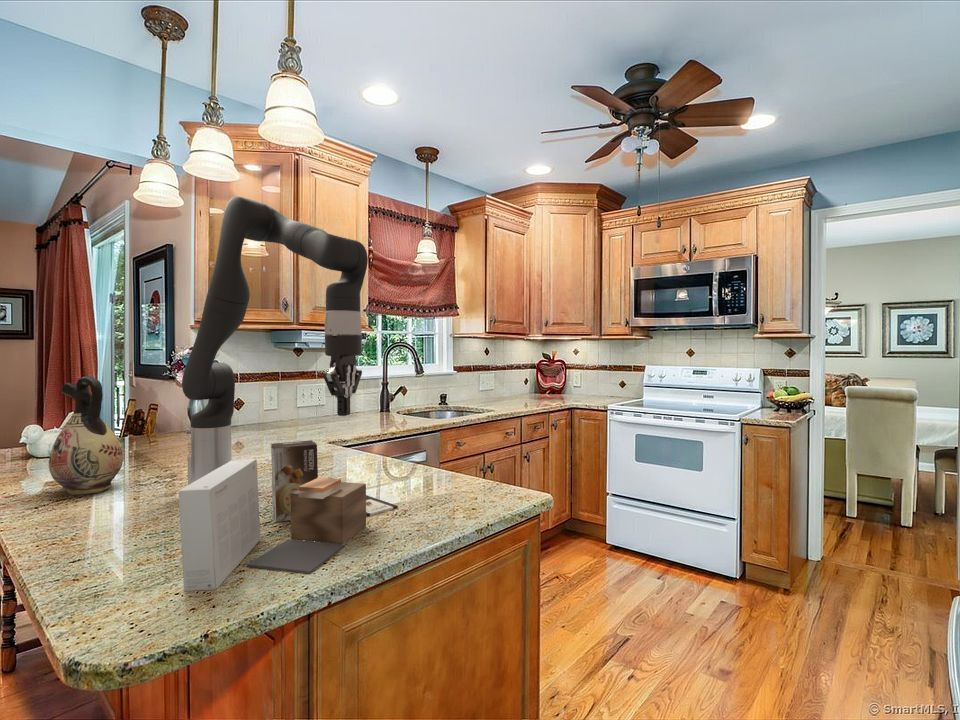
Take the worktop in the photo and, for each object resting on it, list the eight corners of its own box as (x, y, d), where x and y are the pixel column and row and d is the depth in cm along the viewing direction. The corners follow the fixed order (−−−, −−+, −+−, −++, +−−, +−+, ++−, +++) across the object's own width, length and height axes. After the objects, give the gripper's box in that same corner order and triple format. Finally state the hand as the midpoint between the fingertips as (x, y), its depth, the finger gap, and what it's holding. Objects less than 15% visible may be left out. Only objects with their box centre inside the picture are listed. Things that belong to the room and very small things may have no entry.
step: (291, 539, 101) (290, 493, 101) (318, 522, 111) (318, 480, 111) (342, 544, 99) (342, 497, 99) (366, 526, 109) (365, 483, 108)
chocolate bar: (354, 491, 134) (397, 505, 121) (354, 494, 134) (397, 509, 121) (322, 498, 127) (364, 514, 115) (322, 502, 127) (365, 519, 115)
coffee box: (314, 508, 121) (313, 439, 120) (319, 516, 115) (318, 444, 115) (271, 514, 117) (270, 442, 116) (274, 523, 111) (274, 447, 110)
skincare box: (232, 541, 101) (231, 459, 100) (261, 540, 101) (260, 458, 101) (178, 592, 80) (177, 488, 79) (215, 591, 80) (214, 488, 80)
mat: (246, 566, 89) (246, 564, 89) (288, 541, 100) (288, 539, 100) (309, 573, 86) (309, 571, 86) (345, 546, 98) (345, 544, 98)
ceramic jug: (34, 495, 131) (32, 376, 131) (99, 480, 146) (97, 373, 145) (78, 503, 125) (75, 377, 124) (141, 487, 139) (139, 374, 138)
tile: (298, 497, 99) (298, 486, 99) (318, 487, 105) (318, 477, 105) (322, 499, 97) (322, 488, 97) (341, 489, 104) (340, 479, 104)
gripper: (342, 334, 117) (342, 411, 118) (310, 332, 104) (310, 419, 105) (373, 334, 115) (373, 412, 116) (344, 332, 103) (344, 420, 103)
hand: (343, 415), depth 110 cm, fingers closed
